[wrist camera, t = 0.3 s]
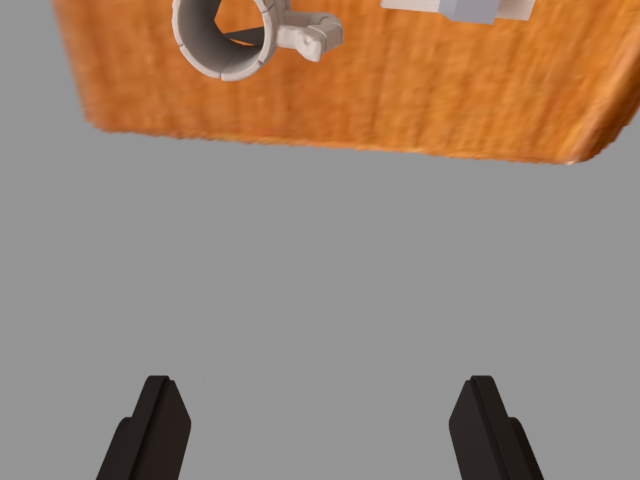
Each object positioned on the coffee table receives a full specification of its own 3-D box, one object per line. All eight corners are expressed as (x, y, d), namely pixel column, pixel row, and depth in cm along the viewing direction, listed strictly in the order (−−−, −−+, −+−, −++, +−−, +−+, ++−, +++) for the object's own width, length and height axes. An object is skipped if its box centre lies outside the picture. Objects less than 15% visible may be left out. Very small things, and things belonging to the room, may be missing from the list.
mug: (194, -61, 29) (136, -56, 20) (349, -35, 30) (362, -19, 21) (200, 48, 34) (155, 93, 25) (333, 68, 35) (338, 118, 26)
